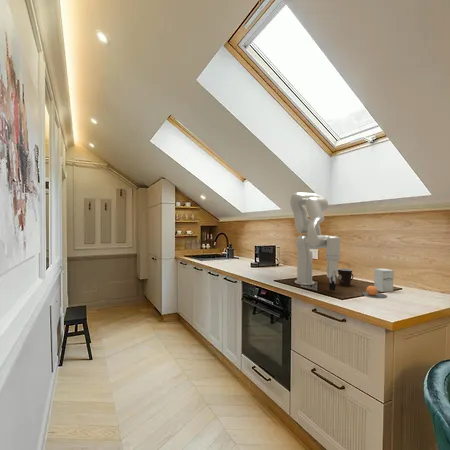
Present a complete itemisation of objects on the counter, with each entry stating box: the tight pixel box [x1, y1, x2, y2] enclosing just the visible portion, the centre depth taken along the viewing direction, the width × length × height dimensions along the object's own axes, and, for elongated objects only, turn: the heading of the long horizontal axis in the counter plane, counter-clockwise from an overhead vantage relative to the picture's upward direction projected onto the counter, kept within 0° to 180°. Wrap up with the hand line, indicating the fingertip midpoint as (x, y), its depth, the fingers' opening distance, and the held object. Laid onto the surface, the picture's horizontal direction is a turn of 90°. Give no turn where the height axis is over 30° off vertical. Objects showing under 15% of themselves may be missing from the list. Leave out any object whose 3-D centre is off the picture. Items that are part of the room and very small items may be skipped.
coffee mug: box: [338, 268, 354, 287], centre depth 186 cm, size 12×9×10 cm
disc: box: [361, 291, 388, 299], centre depth 163 cm, size 13×13×1 cm
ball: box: [365, 285, 378, 296], centre depth 161 cm, size 6×6×6 cm
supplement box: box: [373, 268, 395, 293], centre depth 174 cm, size 7×7×13 cm
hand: (332, 289), depth 167 cm, fingers closed
